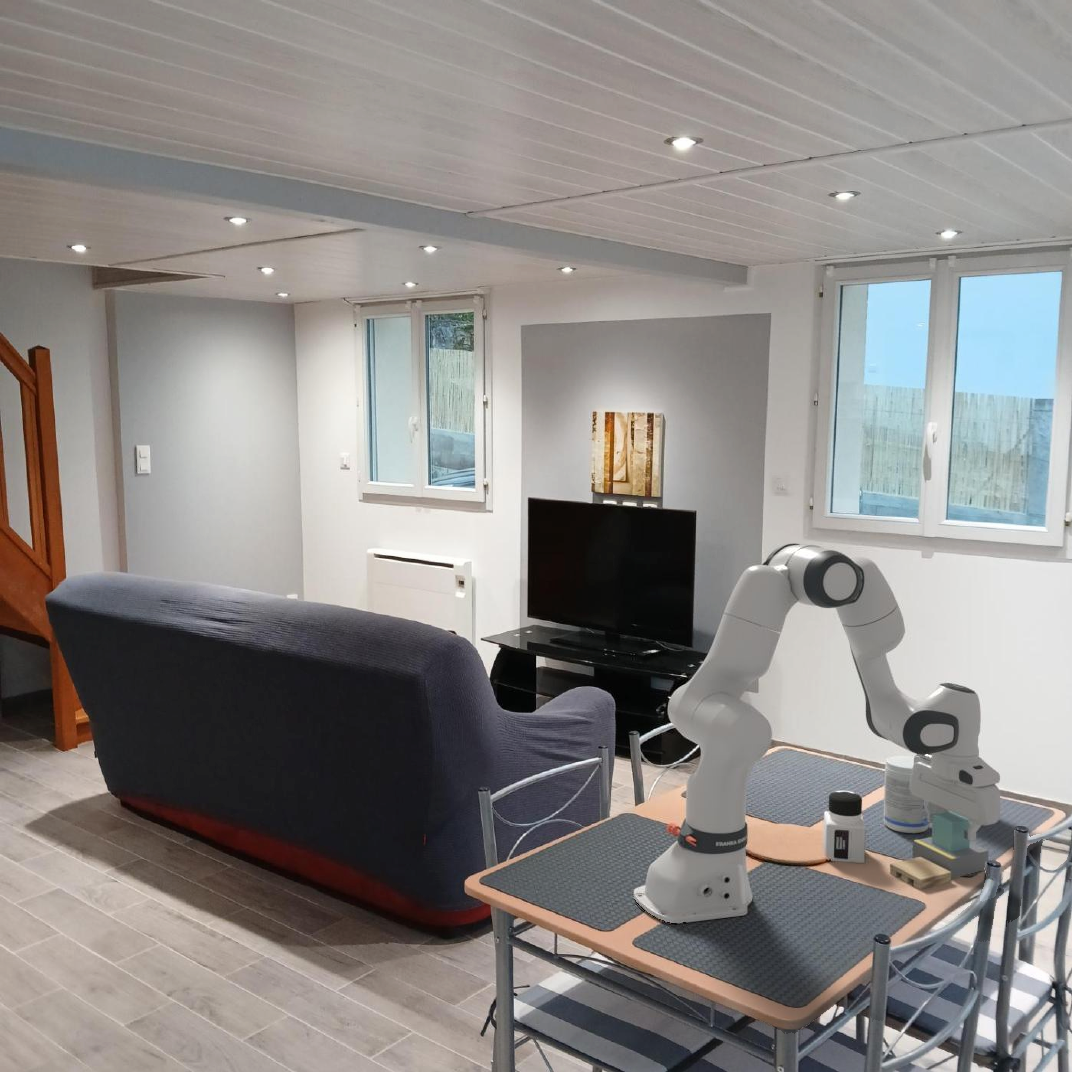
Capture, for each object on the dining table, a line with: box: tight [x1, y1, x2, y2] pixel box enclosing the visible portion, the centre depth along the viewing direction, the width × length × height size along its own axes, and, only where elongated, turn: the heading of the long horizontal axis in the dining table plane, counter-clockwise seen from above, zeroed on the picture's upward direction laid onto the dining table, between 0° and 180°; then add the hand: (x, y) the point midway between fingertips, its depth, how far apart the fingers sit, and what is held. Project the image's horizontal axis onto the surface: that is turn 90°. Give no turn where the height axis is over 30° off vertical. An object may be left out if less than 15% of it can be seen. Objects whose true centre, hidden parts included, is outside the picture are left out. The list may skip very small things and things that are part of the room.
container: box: [822, 790, 867, 864], centre depth 218 cm, size 8×8×13 cm
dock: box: [912, 836, 989, 880], centre depth 214 cm, size 10×10×4 cm
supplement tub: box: [883, 755, 930, 834], centre depth 233 cm, size 10×10×15 cm
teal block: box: [931, 811, 971, 852], centre depth 213 cm, size 5×5×6 cm
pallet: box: [889, 857, 952, 890], centre depth 208 cm, size 8×8×2 cm
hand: (951, 830), depth 213 cm, fingers open, 8 cm apart
